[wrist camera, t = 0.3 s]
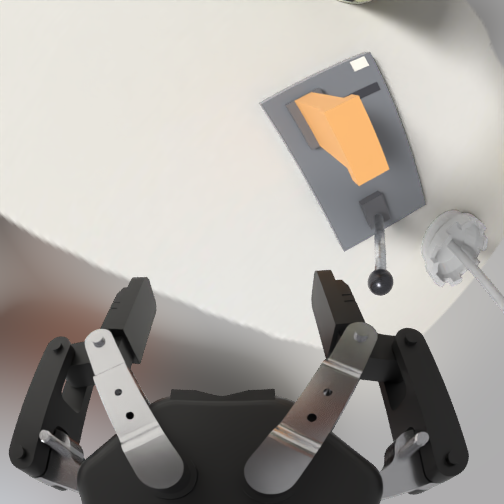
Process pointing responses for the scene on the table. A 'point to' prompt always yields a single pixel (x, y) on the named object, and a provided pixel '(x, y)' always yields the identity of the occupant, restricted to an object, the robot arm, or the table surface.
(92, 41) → the table surface
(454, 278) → the flag stand
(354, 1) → the coffee can
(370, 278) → the toggle lever
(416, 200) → the console
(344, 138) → the orange lidded bin
